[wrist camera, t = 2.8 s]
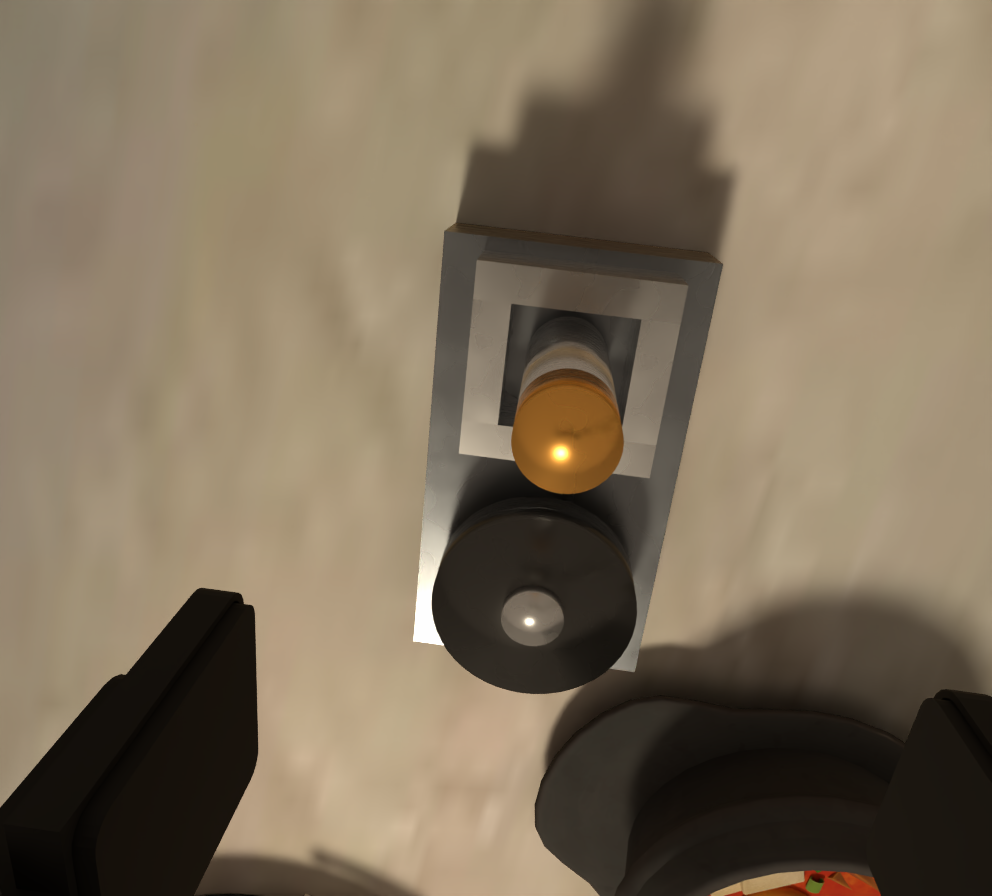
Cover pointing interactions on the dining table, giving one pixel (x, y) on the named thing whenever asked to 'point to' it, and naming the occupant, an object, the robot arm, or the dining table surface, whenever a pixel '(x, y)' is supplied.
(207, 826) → the robot arm
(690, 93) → the dining table surface
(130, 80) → the dining table surface
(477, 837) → the dining table surface
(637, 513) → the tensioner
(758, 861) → the casserole
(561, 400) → the orange and grey cylinder
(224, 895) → the belt
